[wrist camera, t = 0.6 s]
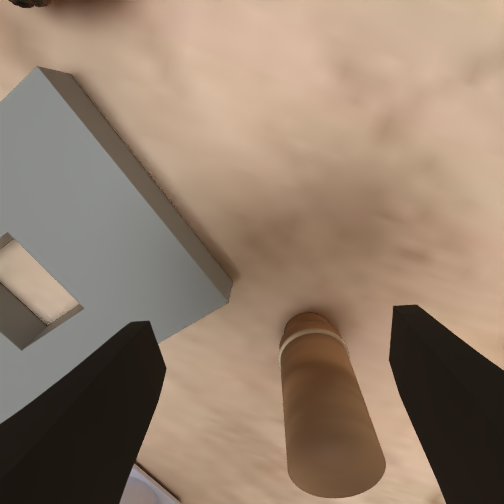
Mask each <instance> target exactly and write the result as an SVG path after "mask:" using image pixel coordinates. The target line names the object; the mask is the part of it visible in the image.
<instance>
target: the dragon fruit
mask: <svg viewBox="0 0 504 504" xmlns="http://www.w3.org/2000/svg"><path fill="white" fill-rule="evenodd" d="M9 1H10V2H12V3H13V4H14V5H17V6H20V7H22V8H31V7H33V6H34V5H35V6H36V7H44V6H47V5H49V4H51V3H52V2H53V1H54V0H9Z"/></svg>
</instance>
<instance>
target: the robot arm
mask: <svg viewBox="0 0 504 504" xmlns="http://www.w3.org/2000/svg"><path fill="white" fill-rule="evenodd" d="M389 361H390V365H391V368H392V372H393V375H394V378H395V382H396V385H397V388H398V391H399V394H400V397H401V399H402V401H403V404H404V406H405V408H406V411H407V413H408V415H409V418H410V420H411V422H412V425H413V427H414V429H415V431H416V434H417V436H418V438H419V441H420V443H421V445H422V447H423V450H424V452H425V454H426V456H427V459H428V461H429V463H430V466H431V468H432V470H433V472H434V475H435V477H436V479H437V481H438V484H439V486H440V489H441V491H442V494H443V496H444V499H445V501H446V504H504V370H502V369H501V368H499V367H498V366H497V365H495V364H494V363H492V362H491V361H490V360H488V359H487V358H485V357H484V356H483V355H481V354H480V353H479V352H477V351H476V350H475V349H473V348H472V347H471V346H469V345H468V344H467V343H465V342H464V341H463V340H461V339H460V338H459V337H457V336H456V335H455V334H454V333H452V332H451V331H450V330H448V329H447V328H446V327H445V326H443V325H442V324H441V323H440V322H438V321H437V320H436V319H434V318H433V317H432V316H431V315H429V314H428V313H427V312H426V311H424V310H423V309H422V308H420V307H419V306H418V305H401V306H393V318H392V330H391V342H390V354H389ZM165 373H166V366H165V363H164V360H163V357H162V354H161V351H160V349H159V346H158V343H157V340H156V337H155V334H154V332H153V329H152V326H151V323H150V321H133V322H130V323H129V324H127V325H126V326H125V327H123V328H122V329H121V330H120V331H118V332H117V333H116V334H115V335H113V336H112V337H111V338H110V339H109V340H107V341H106V342H105V343H104V344H103V345H101V346H100V347H99V348H98V349H97V350H95V351H94V352H93V353H92V354H91V355H89V356H88V357H87V358H86V359H85V360H83V361H82V362H81V363H80V364H79V365H77V366H76V367H75V368H74V369H73V370H71V371H70V372H69V373H68V374H66V375H65V376H64V377H62V378H61V379H60V380H59V381H57V382H56V383H55V384H53V385H52V386H51V387H50V388H48V389H47V390H46V391H44V392H43V393H42V394H41V395H39V396H38V397H37V398H35V399H34V400H33V401H32V402H30V403H29V404H28V405H26V406H25V407H23V408H22V409H21V410H19V411H18V412H16V413H15V414H14V415H12V416H11V417H10V418H8V419H7V420H5V421H4V422H2V423H1V424H0V504H180V502H179V501H178V500H177V499H176V498H175V497H174V496H172V495H171V494H170V493H169V492H168V491H166V490H165V489H164V488H163V487H162V486H161V485H159V484H158V483H157V482H156V481H155V480H153V479H152V478H151V477H150V476H149V475H148V474H146V473H145V472H144V471H143V470H142V469H140V468H139V467H138V466H137V465H136V464H135V460H136V458H137V455H138V452H139V450H140V447H141V445H142V442H143V440H144V437H145V435H146V432H147V430H148V427H149V424H150V422H151V419H152V417H153V414H154V411H155V409H156V406H157V403H158V401H159V397H160V393H161V389H162V386H163V381H164V377H165Z"/></svg>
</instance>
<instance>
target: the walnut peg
mask: <svg viewBox="0 0 504 504" xmlns="http://www.w3.org/2000/svg"><path fill="white" fill-rule="evenodd" d="M279 349H280V350H279V358H278V359H279V366H280V369H281V378H282V393H283V407H284V422H285V437H286V451H287V466H288V473H289V476H290V478H291V480H292V481H293V483H294V484H295V485H296V486H297V487H299V488H300V489H301V490H303V491H305V492H307V493H309V494H312V495H315V496H319V497H324V498H344V497H350V496H354V495H357V494H360V493H363V492H365V491H367V490H369V489H370V488H372V487H373V486H374V485H375V484H377V483H378V481H379V480H380V479H381V478H382V476H383V474H384V472H385V468H386V462H385V458H384V455H383V452H382V449H381V446H380V444H379V441H378V438H377V435H376V432H375V430H374V427H373V424H372V421H371V418H370V416H369V413H368V410H367V407H366V404H365V402H364V399H363V396H362V393H361V390H360V388H359V385H358V382H357V379H356V376H355V374H354V371H353V368H352V365H351V362H350V360H349V352H348V349H347V346H346V344H345V342H344V341H343V340H342V337H341V335H340V334H339V332H338V331H337V330H336V329H335V328H333V327H332V326H331V325H330V323H329V321H328V320H327V319H326V318H324V317H323V316H321V315H319V314H315V313H303V314H300V315H297V316H295V317H294V318H292V319H291V320H290V321H289V322H288V324H287V325H286V327H285V331H284V335H283V337H282V339H281V342H280V348H279Z"/></svg>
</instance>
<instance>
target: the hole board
mask: <svg viewBox="0 0 504 504" xmlns="http://www.w3.org/2000/svg"><path fill="white" fill-rule="evenodd" d="M13 238H14V239H15V240H16V241H17V242H18V243H19V244H20V245H21V246H22V247H23V248H24V249H25V250H26V251H27V252H28V253H29V254H30V255H31V256H32V257H33V258H34V259H35V260H36V261H37V262H38V263H39V264H40V265H41V266H42V267H43V268H44V269H45V270H46V271H47V272H48V273H49V274H50V275H51V276H52V277H53V278H54V279H55V280H57V281H58V282H59V283H60V284H61V285H62V286H63V287H64V288H65V289H66V290H67V291H68V292H69V293H70V294H71V295H72V296H73V297H74V298H75V299H76V300H77V301H78V302H79V303H80V304H79V305H78V306H76V307H75V308H73V309H72V310H70V311H69V312H68V313H66V314H65V315H63V316H62V317H60V318H59V319H57V320H56V321H54V322H53V323H51V324H50V325H48V326H46V325H45V324H44V323H43V322H42V321H41V320H40V319H39V318H38V317H36V316H35V315H34V314H33V313H32V312H31V311H30V310H29V309H28V308H27V307H26V306H25V305H23V304H22V303H21V302H20V301H19V300H18V299H17V298H16V297H15V296H14V295H13V294H12V293H10V292H9V291H8V290H7V289H6V288H5V287H4V286H3V285H2V284H1V283H0V424H1V423H2V422H4V421H5V420H7V419H8V418H10V417H11V416H12V415H14V414H15V413H16V412H18V411H19V410H21V409H22V408H23V407H25V406H26V405H28V404H29V403H30V402H32V401H33V400H34V399H35V398H37V397H38V396H39V395H41V394H42V393H43V392H44V391H46V390H47V389H48V388H50V387H51V386H52V385H53V384H55V383H56V382H57V381H59V380H60V379H61V378H62V377H64V376H65V375H66V374H68V373H69V372H70V371H71V370H73V369H74V368H75V367H76V366H77V365H79V364H80V363H81V362H82V361H83V360H85V359H86V358H87V357H88V356H89V355H91V354H92V353H93V352H94V351H95V350H97V349H98V348H99V347H100V346H101V345H103V344H104V343H105V342H106V341H107V340H109V339H110V338H111V337H112V336H113V335H115V334H116V333H117V332H118V331H120V330H121V329H122V328H123V327H125V326H126V325H127V324H129V323H130V322H133V321H150V323H151V326H152V329H153V332H154V334H155V337H156V340H157V343H160V342H161V341H163V340H165V339H167V338H168V337H170V336H172V335H173V334H175V333H177V332H179V331H180V330H182V329H184V328H186V327H187V326H189V325H191V324H192V323H194V322H196V321H198V320H199V319H201V318H203V317H204V316H206V315H208V314H210V313H211V312H213V311H215V310H217V309H218V308H220V307H222V306H223V305H225V304H227V303H228V302H229V297H230V292H231V287H232V280H231V279H230V278H229V276H228V275H227V274H226V273H225V271H224V270H223V269H222V268H221V266H220V265H219V264H218V262H217V261H216V260H215V259H214V257H213V256H212V255H211V253H210V252H209V251H208V250H207V248H206V247H205V246H204V244H203V243H202V242H201V241H200V239H199V238H198V237H197V236H196V234H195V233H194V232H193V230H192V229H191V228H190V227H189V225H188V224H187V223H186V221H185V220H184V219H183V218H182V216H181V215H180V214H179V213H178V211H177V210H176V209H175V207H174V206H173V205H172V204H171V202H170V201H169V200H168V198H167V197H166V196H165V195H164V193H163V192H162V191H161V190H160V188H159V187H158V186H157V184H156V183H155V182H154V181H153V179H152V178H151V177H150V175H149V174H148V173H147V172H146V170H145V169H144V168H143V167H142V165H141V164H140V163H139V161H138V160H137V159H136V158H135V156H134V155H133V154H132V152H131V151H130V150H129V149H128V147H127V146H126V145H125V144H124V142H123V141H122V140H121V138H120V137H119V136H118V135H117V133H116V132H115V131H114V129H113V128H112V127H111V126H110V124H109V123H108V122H107V121H106V119H105V118H104V117H103V115H102V114H101V113H100V112H99V110H98V109H97V108H96V106H95V105H94V104H93V103H92V101H91V100H90V99H89V98H88V96H87V95H86V94H85V92H84V91H83V90H82V89H81V87H80V86H79V85H78V83H77V82H76V81H75V80H74V78H73V77H72V76H71V75H70V74H68V73H64V72H60V71H56V70H51V69H47V68H43V67H39V66H37V67H36V68H35V69H34V70H33V71H32V72H31V73H30V74H29V75H28V76H27V77H25V78H24V79H23V80H22V81H21V82H20V83H19V84H18V85H17V86H16V87H15V88H14V89H13V90H12V91H11V92H10V93H9V94H8V95H7V96H6V97H5V98H4V99H3V100H2V101H1V102H0V249H1V248H2V247H4V246H5V245H6V244H7V243H8V242H10V241H11V240H12V239H13Z"/></svg>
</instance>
